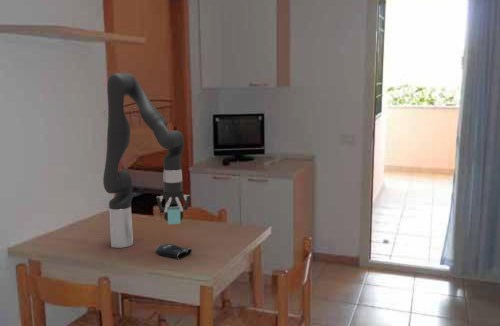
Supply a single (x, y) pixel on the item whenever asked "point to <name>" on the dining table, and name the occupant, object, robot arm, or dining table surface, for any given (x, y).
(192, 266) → the dining table surface
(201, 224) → the dining table surface
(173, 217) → the teal block
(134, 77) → the robot arm
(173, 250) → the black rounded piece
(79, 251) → the dining table surface
